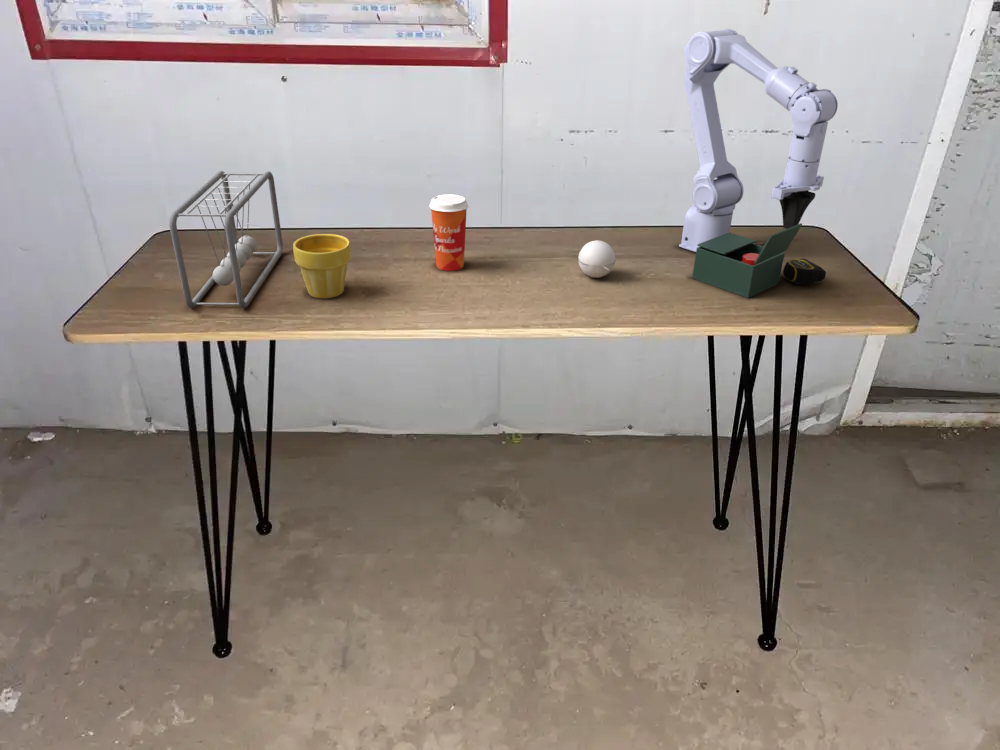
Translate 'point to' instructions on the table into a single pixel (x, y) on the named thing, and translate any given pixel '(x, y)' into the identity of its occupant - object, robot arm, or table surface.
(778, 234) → the flap
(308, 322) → the table surface
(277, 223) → the newton's cradle
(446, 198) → the paper cup
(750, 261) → the shaker
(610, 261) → the seamed sphere
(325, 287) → the flower pot
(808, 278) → the tape measure
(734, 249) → the carton
